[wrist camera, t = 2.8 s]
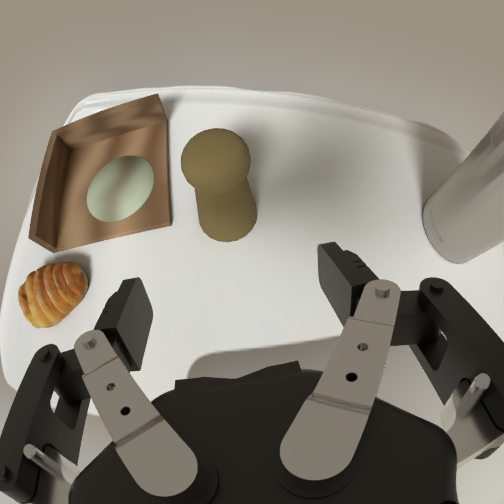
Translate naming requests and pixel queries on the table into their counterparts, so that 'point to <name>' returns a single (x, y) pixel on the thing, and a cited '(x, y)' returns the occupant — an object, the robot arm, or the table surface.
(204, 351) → the table surface
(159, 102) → the corner tray
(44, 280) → the pastry
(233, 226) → the cork
